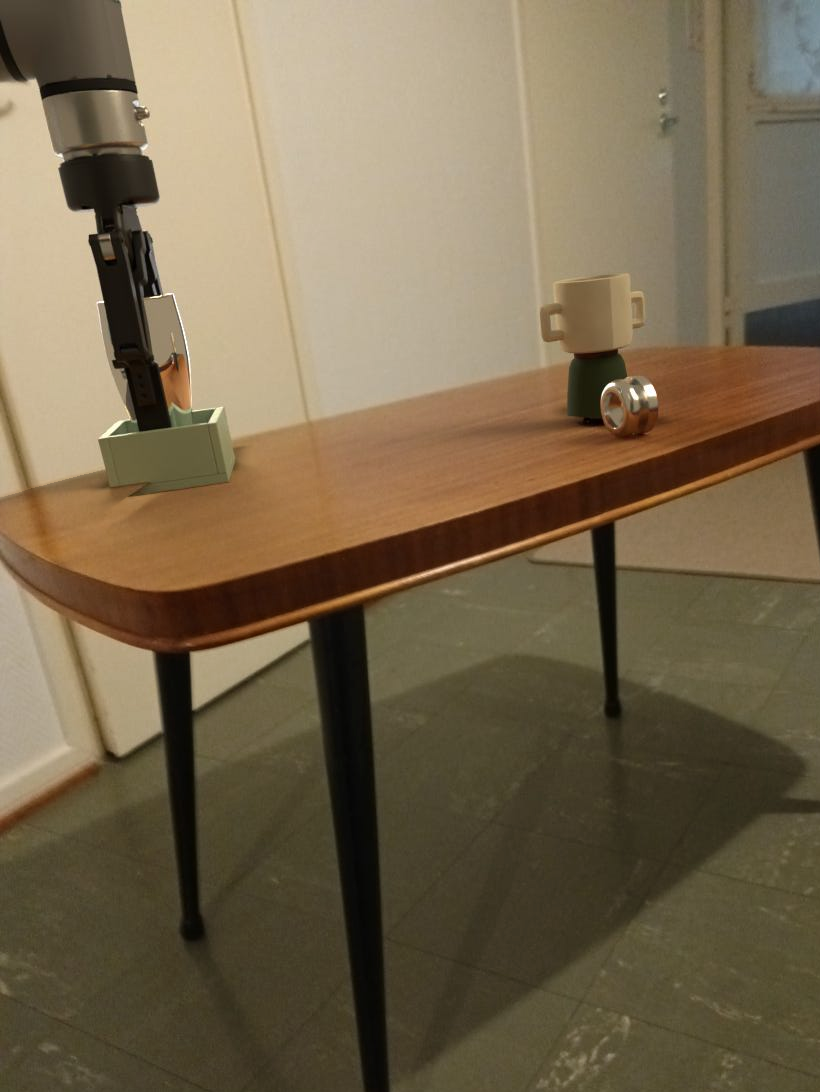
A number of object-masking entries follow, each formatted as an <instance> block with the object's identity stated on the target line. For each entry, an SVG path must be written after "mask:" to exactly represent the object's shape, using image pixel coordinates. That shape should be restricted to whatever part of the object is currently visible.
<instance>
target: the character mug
mask: <svg viewBox="0 0 820 1092" xmlns="http://www.w3.org/2000/svg"><path fill="white" fill-rule="evenodd" d="M552 286H553V287H552V289H553V290H552V292H553V303H547V304H544V305H542V306H541V307H540V309H539V322H540V333H541V338H542V341H543V342H546V343H553V342H557V345H558V347H559V349H560V350H561V351H563V352H566V353H568V354H573V358H572V360H570V364H569V367H568V377H567V378H568V379H567V395H566V416H567V417H574V418H575V417H576V418H583V421H584V422H585V423H588V422H587V421H589V422H590V421H591V419H603V418H602V415H601V407H600V402H601V395H602V392H603V390H604V388H605V386H606V385H607V384H608V383H609V382H611V381H613V380H616V379H623V380H624V379H625V378H627V377H628V373H627V367H626V361H625V360H624V358H623V357H622V354H620V353H619V350H620V349H624V348H626V347H628V346H631V344H632V341H633V336H634V330H635V329H640V328H642V327H643V326H645V323H646V320H647V317H646V316H647V315H646V297H645V295H644V292H643V291H639V290H636V291H635V290H634V291H632V289H631V275H630V273H611V274H598V275H587V276H586V275H585V276H580V277H579V276H578V277H573V278H565V279H561V280H557V281H554V282H553V285H552ZM632 303H633V304H634V314H635V317H633V309H632V308H633V307H632ZM551 316H554V321H555V323H554V324H555V329H553V330H552V324H551Z"/></svg>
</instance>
